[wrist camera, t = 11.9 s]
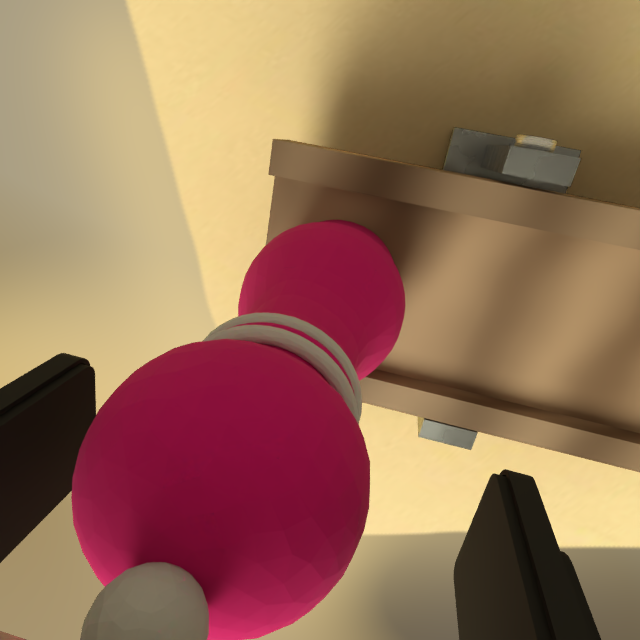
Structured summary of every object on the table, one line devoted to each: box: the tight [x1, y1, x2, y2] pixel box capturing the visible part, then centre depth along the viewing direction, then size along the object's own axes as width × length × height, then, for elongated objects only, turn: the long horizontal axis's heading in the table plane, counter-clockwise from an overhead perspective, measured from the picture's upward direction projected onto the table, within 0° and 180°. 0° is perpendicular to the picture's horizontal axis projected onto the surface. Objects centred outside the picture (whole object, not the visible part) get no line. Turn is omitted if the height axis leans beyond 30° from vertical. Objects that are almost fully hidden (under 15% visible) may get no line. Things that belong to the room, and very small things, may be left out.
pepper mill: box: [72, 220, 406, 640], centre depth 15 cm, size 7×7×20 cm
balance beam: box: [266, 139, 640, 472], centre depth 23 cm, size 27×13×3 cm, turn 80°
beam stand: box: [418, 127, 581, 450], centre depth 26 cm, size 7×17×7 cm, turn 170°
